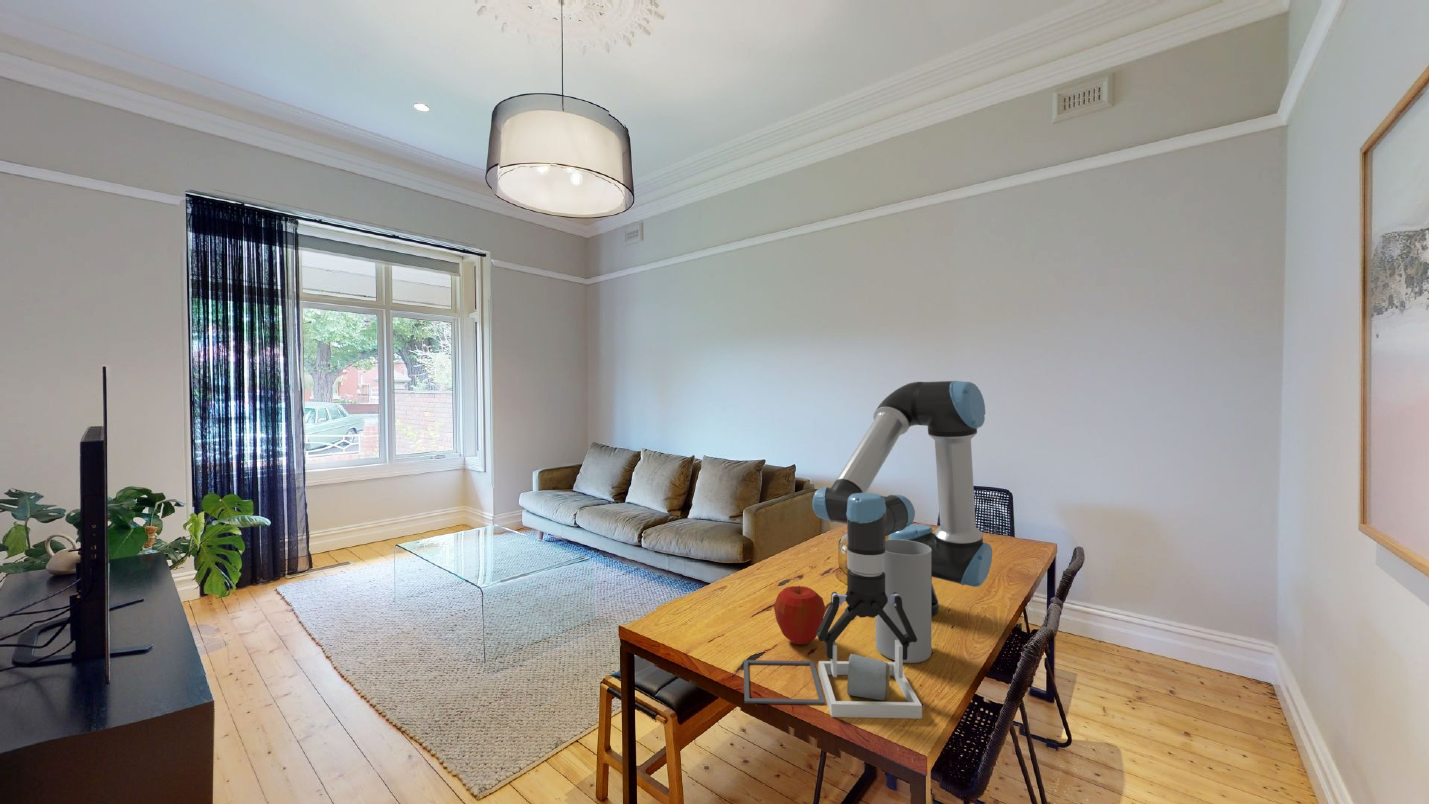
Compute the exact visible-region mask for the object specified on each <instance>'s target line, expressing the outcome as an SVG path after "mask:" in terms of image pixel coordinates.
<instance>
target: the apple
mask: <svg viewBox="0 0 1429 804" xmlns="http://www.w3.org/2000/svg"><path fill="white" fill-rule="evenodd" d="M773 610H774V615H775V620H776V622H777V625H778V627H779V629H780V631H781V633H782V635H783V636H784V637H785V638H786V639H788V640H789V641H790V642H791V643H793V644H795V645H797V646H799V645H800V646H803V645H808V644H809V643H811V642H812V641H814V640H815V639H816V637H818V636H817V631H818V629H819V626H820V624H821V622H822V620H823V618H824V616H825V613H826V606H825V602H824V599H823V597H822V596H821V595H820V594H819V593H817V592H816V591H815V590H813V589H812V588H811V587H808V586H805V585H804V586H802V585H801V586H800V585H792V586H790V585H789V586H786V587H785V588H783V589H782V590H781V591H779V593H777V596H776V599H775V601H774V604H773Z"/></svg>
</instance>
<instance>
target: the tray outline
mask: <svg viewBox="0 0 1429 804" xmlns="http://www.w3.org/2000/svg"><path fill="white" fill-rule="evenodd" d="M749 665H774V666H775V665H785V666H787V665H788V666H790V665H791V666H795V665H796V666H810V667H809V668H810V670H811V675H812V678H813V682H814V685H815V689H816V693H817V697H818V698H815V699H814V698H813V699H812V698H811V699H810V698H763V697H761V698H756V697H755V698H754V697H750V679H749V678H750V677H749V674H750V673H749ZM817 671H818V670H817V668H816V665H815V661H813V660H771V659H769V660H768V659H767V660H766V659H763V660H759V659H755V660H754V659H748V660H747V659H743V688H744V689H743V691H744V692H743V693H744V694H743V695H744V704H776V705H777V704H779V705H782V704H783V705H826V698H825V695H824V691H823V690H822V684H821V681H820V677H819V676H818V675H819V674H818V672H817Z"/></svg>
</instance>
